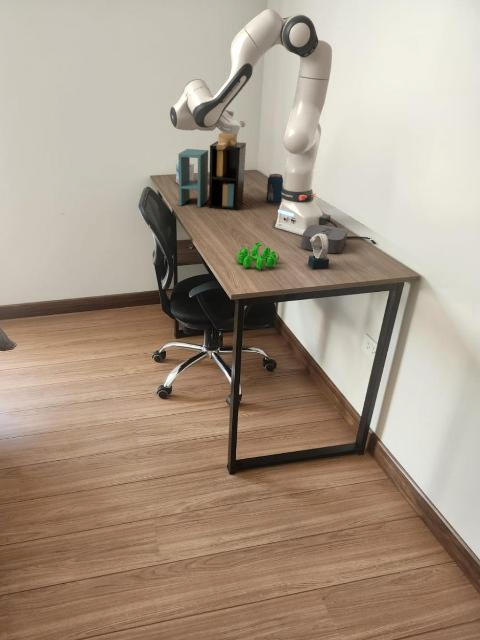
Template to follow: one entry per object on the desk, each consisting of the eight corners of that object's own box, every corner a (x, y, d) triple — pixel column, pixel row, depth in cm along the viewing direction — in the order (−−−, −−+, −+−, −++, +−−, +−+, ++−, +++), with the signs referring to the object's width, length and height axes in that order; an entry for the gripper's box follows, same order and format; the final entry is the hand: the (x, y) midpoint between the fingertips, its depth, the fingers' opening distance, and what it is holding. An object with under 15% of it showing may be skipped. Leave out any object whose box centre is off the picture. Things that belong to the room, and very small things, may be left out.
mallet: (221, 143, 231) (221, 132, 229) (236, 144, 229) (237, 133, 227) (211, 149, 219) (211, 138, 217) (227, 150, 217) (228, 139, 215)
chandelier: (287, 262, 185) (289, 243, 181) (261, 275, 176) (263, 254, 172) (252, 252, 193) (253, 233, 190) (226, 264, 184) (226, 244, 180)
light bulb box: (175, 182, 281) (175, 160, 275) (188, 181, 282) (188, 159, 276) (181, 187, 272) (181, 164, 266) (194, 186, 274) (194, 163, 268)
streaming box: (339, 255, 192) (341, 240, 189) (299, 249, 196) (301, 235, 194) (346, 242, 203) (348, 229, 200) (308, 237, 207) (310, 224, 205)
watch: (321, 261, 186) (325, 230, 180) (330, 270, 180) (334, 237, 174) (305, 262, 185) (309, 231, 179) (314, 271, 179) (318, 238, 173)
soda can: (280, 200, 251) (283, 173, 245) (281, 204, 246) (283, 177, 239) (266, 200, 252) (268, 173, 245) (266, 204, 246) (268, 176, 239)
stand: (199, 207, 242) (200, 155, 229) (179, 205, 244) (178, 153, 232) (207, 200, 251) (208, 150, 239) (187, 198, 254) (187, 148, 241)
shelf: (236, 210, 238) (239, 147, 223) (208, 207, 241) (209, 145, 227) (242, 203, 246) (245, 142, 232) (215, 201, 250) (217, 141, 235)
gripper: (223, 121, 201) (253, 122, 207) (198, 98, 212) (228, 100, 218) (219, 138, 206) (249, 138, 212) (195, 115, 217) (224, 116, 223)
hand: (238, 119), depth 215 cm, fingers open, 8 cm apart
